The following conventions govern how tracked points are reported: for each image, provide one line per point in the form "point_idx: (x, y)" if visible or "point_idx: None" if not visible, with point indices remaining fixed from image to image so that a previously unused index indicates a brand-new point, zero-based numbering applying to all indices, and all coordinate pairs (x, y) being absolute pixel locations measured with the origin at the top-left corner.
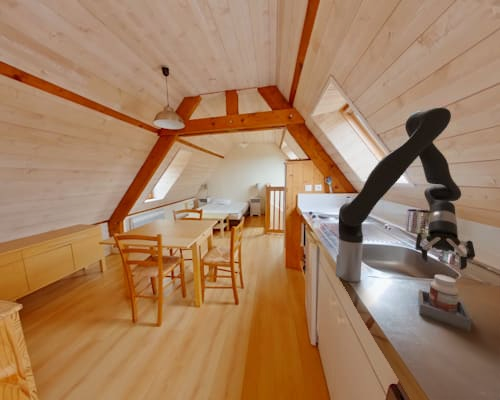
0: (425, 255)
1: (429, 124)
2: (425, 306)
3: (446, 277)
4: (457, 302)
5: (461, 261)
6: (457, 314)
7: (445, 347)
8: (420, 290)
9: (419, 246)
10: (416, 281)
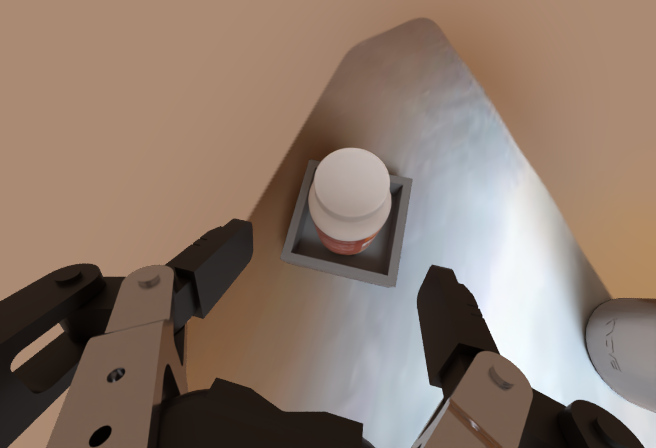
0: (455, 290)
1: None
2: (399, 178)
3: (342, 189)
4: (297, 254)
5: (221, 240)
6: (312, 226)
7: (380, 104)
8: (392, 280)
9: (574, 411)
10: None
